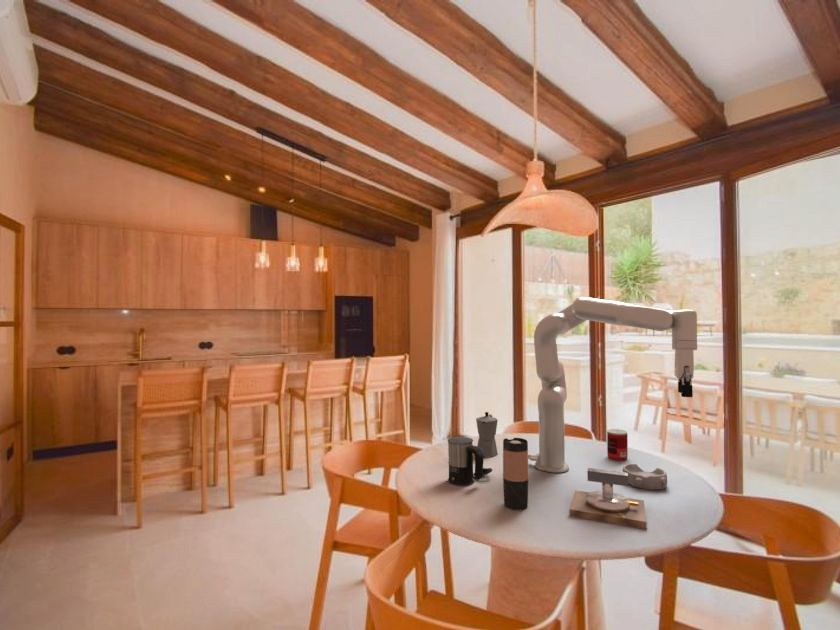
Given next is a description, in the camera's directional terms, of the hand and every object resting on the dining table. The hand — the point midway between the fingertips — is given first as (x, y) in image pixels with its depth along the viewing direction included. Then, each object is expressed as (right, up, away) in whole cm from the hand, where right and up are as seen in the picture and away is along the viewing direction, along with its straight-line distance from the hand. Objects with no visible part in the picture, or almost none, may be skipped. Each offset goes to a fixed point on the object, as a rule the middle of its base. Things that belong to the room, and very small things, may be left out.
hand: (685, 394), depth 154 cm
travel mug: (-62, -31, -17) cm, 72 cm away
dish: (-13, -32, +1) cm, 34 cm away
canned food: (-10, -32, +31) cm, 45 cm away
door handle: (-35, -29, -22) cm, 50 cm away
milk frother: (-74, -32, +6) cm, 81 cm away
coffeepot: (-63, -32, +37) cm, 80 cm away
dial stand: (-36, -31, -21) cm, 52 cm away
